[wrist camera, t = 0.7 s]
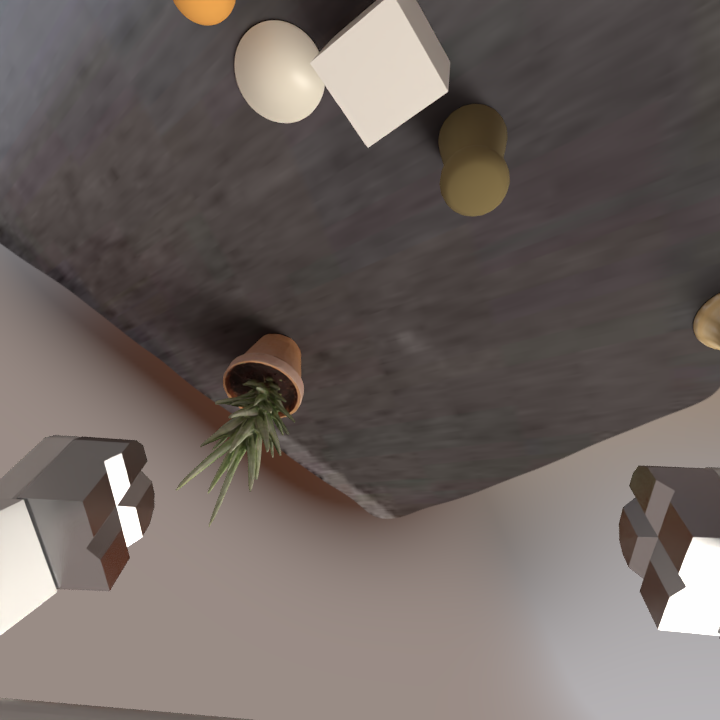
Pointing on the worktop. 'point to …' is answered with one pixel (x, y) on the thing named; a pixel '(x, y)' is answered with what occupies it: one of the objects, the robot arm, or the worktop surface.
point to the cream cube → (384, 67)
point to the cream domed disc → (278, 71)
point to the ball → (205, 10)
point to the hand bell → (708, 323)
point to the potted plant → (255, 407)
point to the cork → (473, 160)
